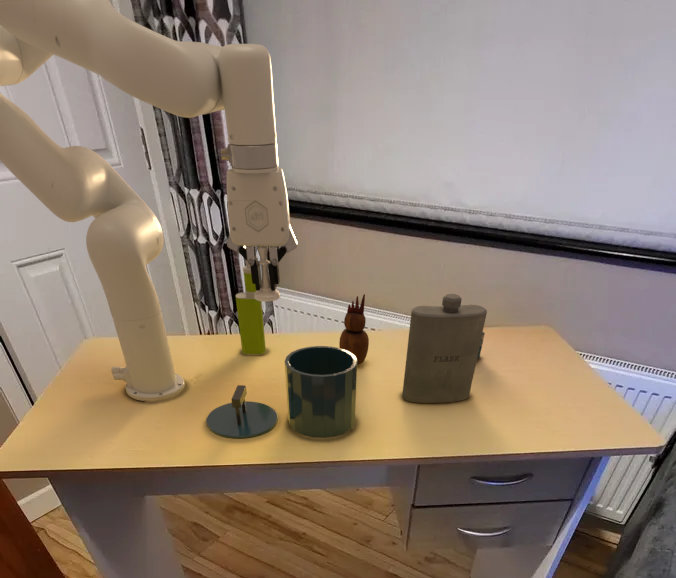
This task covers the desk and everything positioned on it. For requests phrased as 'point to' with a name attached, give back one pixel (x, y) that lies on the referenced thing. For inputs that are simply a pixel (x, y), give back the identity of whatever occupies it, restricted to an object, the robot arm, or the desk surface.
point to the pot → (321, 391)
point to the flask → (442, 351)
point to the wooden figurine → (355, 332)
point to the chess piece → (265, 279)
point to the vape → (250, 318)
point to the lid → (241, 417)
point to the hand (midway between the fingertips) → (266, 287)
